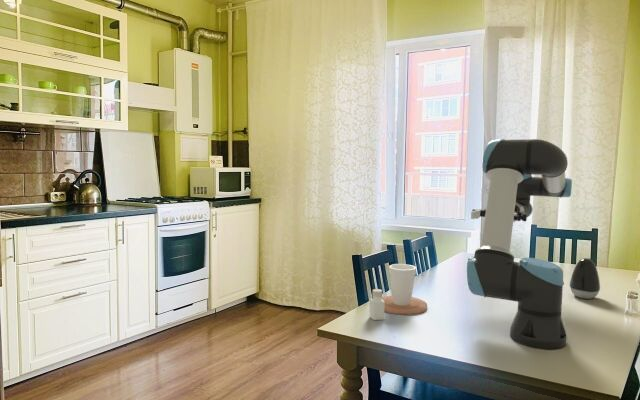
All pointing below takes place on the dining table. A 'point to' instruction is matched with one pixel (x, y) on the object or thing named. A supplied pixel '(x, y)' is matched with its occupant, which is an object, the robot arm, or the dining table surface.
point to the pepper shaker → (377, 305)
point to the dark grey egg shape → (585, 279)
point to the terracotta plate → (405, 306)
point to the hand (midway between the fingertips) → (490, 217)
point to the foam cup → (402, 283)
